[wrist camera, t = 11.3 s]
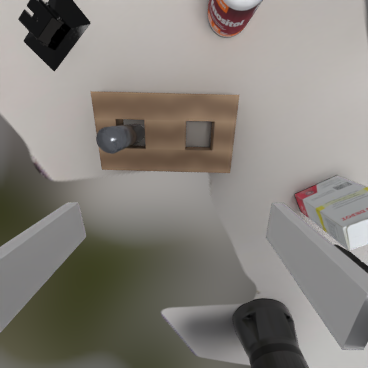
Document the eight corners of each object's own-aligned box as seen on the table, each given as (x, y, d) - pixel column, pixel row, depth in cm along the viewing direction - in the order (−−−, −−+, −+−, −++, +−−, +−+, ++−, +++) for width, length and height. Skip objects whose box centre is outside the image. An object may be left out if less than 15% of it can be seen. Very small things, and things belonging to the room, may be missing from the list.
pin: (146, 141, 32) (123, 153, 21) (129, 140, 32) (98, 153, 21) (145, 124, 31) (121, 127, 20) (128, 123, 31) (94, 126, 20)
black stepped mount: (63, -27, 25) (37, -57, 20) (104, 22, 26) (88, 4, 22) (17, 45, 28) (-14, 32, 23) (56, 84, 30) (34, 79, 25)
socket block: (225, 167, 33) (229, 173, 30) (110, 164, 34) (101, 169, 30) (233, 97, 29) (239, 95, 26) (101, 94, 29) (90, 91, 26)
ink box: (300, 212, 37) (349, 253, 25) (293, 193, 35) (342, 228, 24) (343, 195, 35) (415, 231, 24) (338, 174, 34) (412, 202, 22)
